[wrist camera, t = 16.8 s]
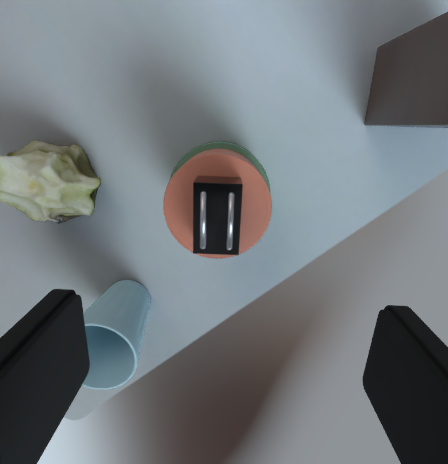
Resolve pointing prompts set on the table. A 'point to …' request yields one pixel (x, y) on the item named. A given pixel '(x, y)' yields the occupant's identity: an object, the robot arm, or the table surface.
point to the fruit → (48, 181)
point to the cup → (115, 334)
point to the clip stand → (412, 79)
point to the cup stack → (227, 165)
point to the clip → (217, 214)
